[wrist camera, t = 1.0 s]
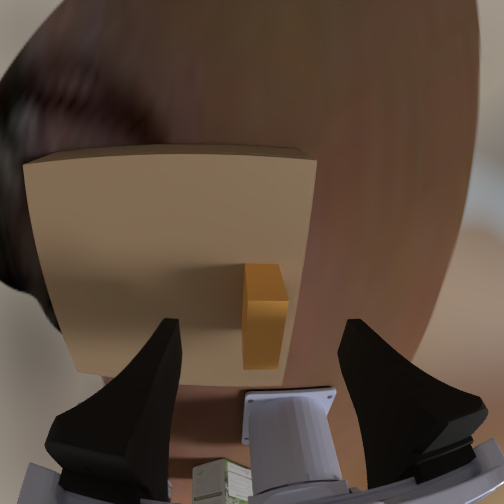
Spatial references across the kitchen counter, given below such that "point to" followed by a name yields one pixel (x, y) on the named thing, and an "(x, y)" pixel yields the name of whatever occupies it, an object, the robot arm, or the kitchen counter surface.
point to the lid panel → (175, 257)
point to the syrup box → (221, 483)
